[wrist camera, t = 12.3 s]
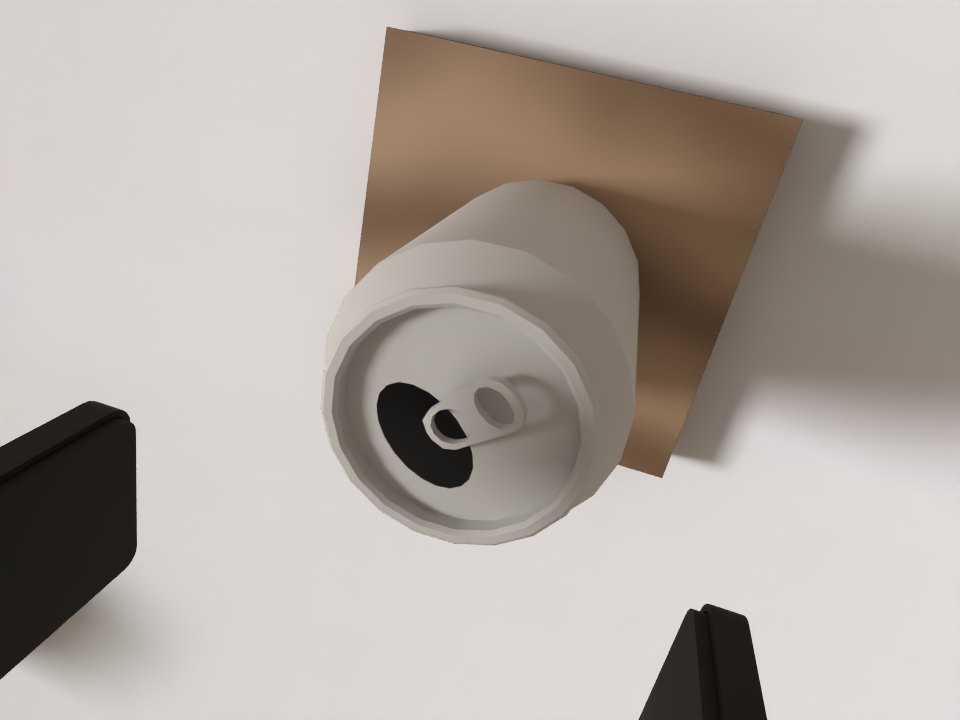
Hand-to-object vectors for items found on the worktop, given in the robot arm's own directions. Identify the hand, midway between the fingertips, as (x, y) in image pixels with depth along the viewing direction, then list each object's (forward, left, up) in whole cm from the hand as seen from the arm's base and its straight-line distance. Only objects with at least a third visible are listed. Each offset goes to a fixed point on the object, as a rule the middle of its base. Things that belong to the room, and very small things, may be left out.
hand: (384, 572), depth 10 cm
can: (0, 0, -16) cm, 16 cm away
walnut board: (+1, 0, -18) cm, 18 cm away
